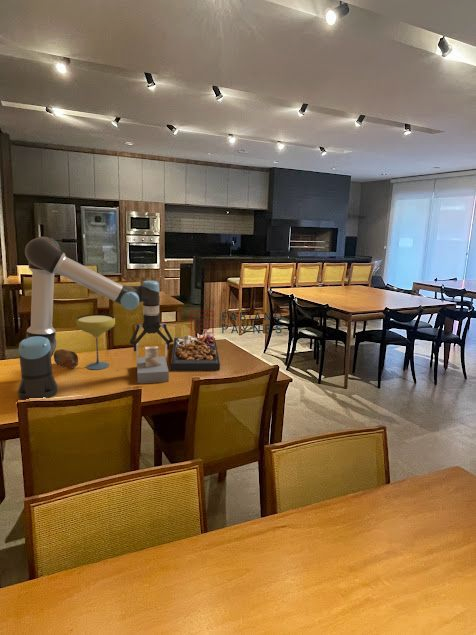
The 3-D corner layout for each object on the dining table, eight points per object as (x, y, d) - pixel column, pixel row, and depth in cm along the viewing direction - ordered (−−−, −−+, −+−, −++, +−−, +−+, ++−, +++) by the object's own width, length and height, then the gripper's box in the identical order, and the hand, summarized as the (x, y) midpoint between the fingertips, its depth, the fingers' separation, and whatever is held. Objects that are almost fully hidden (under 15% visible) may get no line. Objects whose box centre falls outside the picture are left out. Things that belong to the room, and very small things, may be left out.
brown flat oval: (53, 364, 211) (52, 348, 209) (58, 362, 213) (57, 347, 211) (74, 370, 204) (73, 354, 202) (79, 368, 207) (79, 352, 205)
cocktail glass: (123, 363, 216) (122, 316, 210) (102, 374, 199) (100, 324, 194) (93, 358, 221) (91, 312, 216) (70, 369, 205) (67, 320, 199)
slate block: (137, 383, 191) (137, 373, 189) (136, 366, 211) (136, 357, 210) (168, 381, 194) (168, 371, 193) (164, 365, 215) (164, 356, 214)
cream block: (145, 366, 198) (145, 350, 196) (145, 362, 204) (145, 346, 202) (158, 366, 199) (158, 350, 198) (157, 361, 205) (157, 346, 203)
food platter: (174, 345, 251) (174, 328, 249) (215, 345, 254) (215, 328, 252) (170, 372, 208) (170, 352, 205) (219, 371, 211) (220, 352, 208)
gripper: (123, 316, 189) (124, 360, 194) (178, 315, 195) (178, 358, 200) (123, 312, 196) (125, 355, 201) (177, 311, 202) (177, 353, 207)
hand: (151, 356), depth 201 cm, fingers open, 13 cm apart
